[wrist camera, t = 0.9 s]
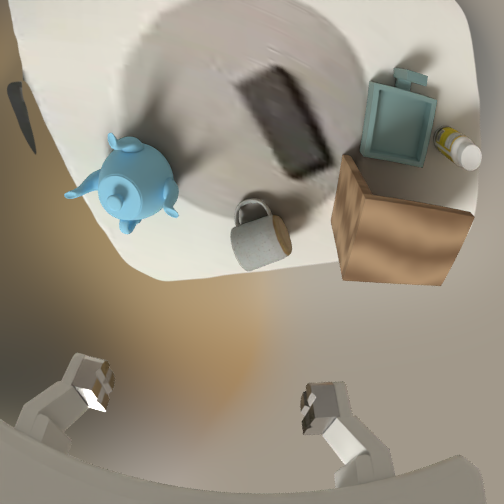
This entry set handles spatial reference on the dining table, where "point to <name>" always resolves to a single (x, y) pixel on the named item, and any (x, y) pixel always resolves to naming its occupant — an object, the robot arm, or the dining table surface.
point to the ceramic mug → (259, 239)
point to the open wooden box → (393, 234)
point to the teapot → (132, 183)
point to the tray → (398, 120)
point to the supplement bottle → (458, 148)
